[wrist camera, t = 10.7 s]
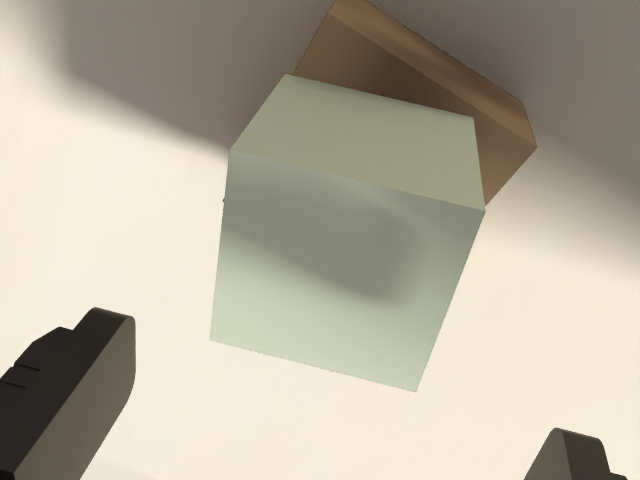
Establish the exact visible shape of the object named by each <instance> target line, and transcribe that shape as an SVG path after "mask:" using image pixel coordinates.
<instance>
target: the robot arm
mask: <svg viewBox="0 0 640 480" xmlns="http://www.w3.org/2000/svg"><path fill="white" fill-rule="evenodd" d="M135 372H136V355H135V320H134V318H133V317H132V316H128V315H124V314H120V313H116V312H112V311H109V310H105V309H101V308H97V307H94V308H92V309H91V310H89V311H88V313H87V314H86V315H85V316H84V317H83V319H82V320H81V321H80V322H79V323H78V325H77V326H76V327H75V328H74V330H70V329H66V328H62V327H58V328H56V329H54V330H52V331H51V332H49V333H47V334H46V335H44V336H42V337H40V338H39V339H37V340H35V341H34V342H32V343H31V344H30V346H29V347H28V348H27V349H26V350H25V351H24V352H23V354H22V355H21V356H20V357H19V358H18V359H17V360H16V361H15V363H14V366H13V367H10V368H9V369H8V370H7V372H6V373H5V374H4V375H3V376H2V377H1V378H0V480H80V478H81V477H82V475H83V473H84V472H85V470H86V468H87V467H88V465H89V464H90V462H91V460H92V459H93V457H94V455H95V454H96V452H97V451H98V449H99V447H100V446H101V444H102V442H103V441H104V439H105V437H106V436H107V434H108V432H109V431H110V429H111V428H112V426H113V424H114V423H115V421H116V419H117V418H118V416H119V414H120V413H121V411H122V410H123V408H124V406H125V405H126V403H127V401H128V399H129V396H130V394H131V391H132V388H133V384H134V380H135ZM524 480H627V478H626V477H625V476H622V475H618V474H614V473H611V472H610V469H609V465H608V461H607V457H606V454H605V450H604V446H603V444H602V442H601V441H600V440H599V439H598V438H595V437H591V436H587V435H583V434H579V433H575V432H572V431H568V430H564V429H560V428H554V429H553V430H552V431H551V432H550V434H549V435H548V437H547V439H546V441H545V443H544V444H543V446H542V448H541V450H540V451H539V453H538V455H537V457H536V459H535V460H534V462H533V464H532V466H531V467H530V469H529V471H528V473H527V475H526V476H525V479H524Z"/></svg>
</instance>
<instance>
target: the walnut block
mask: <svg viewBox="0 0 640 480" xmlns="http://www.w3.org/2000/svg"><path fill="white" fill-rule="evenodd" d="M293 76H297V77H302V78H306V79H310V80H315V81H319V82H323V83H328V84H332V85H336V86H340V87H345V88H349V89H353V90H358V91H362V92H366V93H371V94H375V95H379V96H383V97H388V98H392V99H396V100H401V101H405V102H409V103H414V104H418V105H422V106H426V107H431V108H435V109H439V110H444V111H448V112H452V113H457V114H461V115H465V116H469V117H473V119H474V127H475V134H476V142H477V150H478V157H479V165H480V173H481V180H482V188H483V196H484V203H485V206H486V205H487V204H488V203H489V202H490V200H491V199H492V198H493V197H494V196H495V195H496V194H497V192H498V191H499V190H500V189H501V188H502V187H503V186H504V184H505V183H506V182H507V181H508V180H509V179H510V178H511V176H512V175H513V174H514V173H515V172H516V171H517V170H518V168H519V167H520V166H521V165H522V164H523V163H524V162H525V161H526V159H527V158H528V157H529V156H530V155H531V154H532V153H533V151H534V150H535V149H536V148H537V145H536V142H535V139H534V136H533V133H532V130H531V127H530V124H529V121H528V118H527V115H526V112H525V109H524V106H523V103H522V102H521V101H519V100H517V99H516V98H514V97H513V96H511V95H510V94H508V93H507V92H505V91H504V90H502V89H501V88H499V87H497V86H496V85H494V84H493V83H491V82H490V81H488V80H487V79H485V78H484V77H482V76H481V75H479V74H478V73H476V72H474V71H473V70H471V69H470V68H468V67H467V66H465V65H464V64H462V63H461V62H459V61H458V60H456V59H455V58H453V57H451V56H450V55H448V54H447V53H445V52H444V51H442V50H441V49H439V48H438V47H436V46H435V45H433V44H432V43H430V42H428V41H427V40H425V39H424V38H422V37H421V36H419V35H418V34H416V33H415V32H413V31H412V30H410V29H409V28H407V27H405V26H404V25H402V24H401V23H399V22H398V21H396V20H395V19H393V18H392V17H390V16H389V15H387V14H386V13H384V12H382V11H381V10H379V9H378V8H376V7H375V6H373V5H372V4H370V3H369V2H367V1H366V0H336V1H335V3H334V4H333V5H332V7H331V8H330V10H329V11H328V12H327V14H326V16H325V18H324V20H323V21H322V23H321V25H320V27H319V29H318V30H317V32H316V34H315V36H314V38H313V39H312V41H311V43H310V45H309V47H308V48H307V50H306V52H305V54H304V56H303V57H302V59H301V61H300V63H299V65H298V66H297V68H296V70H295V72H294V74H293ZM223 202H224V199H223Z"/></svg>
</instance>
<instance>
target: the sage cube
mask: <svg viewBox="0 0 640 480" xmlns="http://www.w3.org/2000/svg"><path fill="white" fill-rule="evenodd" d="M484 214H485V203H484V196H483V188H482V180H481V173H480V165H479V157H478V150H477V142H476V134H475V127H474V119H473V117H469V116H465V115H461V114H457V113H452V112H448V111H444V110H439V109H435V108H431V107H426V106H422V105H418V104H414V103H409V102H405V101H401V100H396V99H392V98H388V97H383V96H379V95H375V94H371V93H366V92H362V91H358V90H353V89H349V88H345V87H340V86H336V85H332V84H328V83H323V82H319V81H315V80H310V79H306V78H302V77H297V76H293V75H289V74H284V76H283V77H282V78H281V80H280V81H279V83H278V84H277V85H276V87H275V88H274V89H273V91H272V92H271V94H270V95H269V96H268V98H267V99H266V100H265V102H264V103H263V105H262V106H261V107H260V109H259V110H258V111H257V113H256V114H255V116H254V117H253V118H252V120H251V121H250V122H249V124H248V125H247V127H246V128H245V129H244V131H243V132H242V133H241V135H240V136H239V138H238V139H237V140H236V142H235V143H234V144H233V146H232V147H231V149H230V151H229V160H228V170H227V179H226V189H225V198H224V208H223V217H222V227H221V236H220V246H219V255H218V265H217V274H216V284H215V293H214V302H213V312H212V321H211V331H210V340H211V341H215V342H219V343H223V344H227V345H231V346H235V347H239V348H243V349H247V350H251V351H255V352H259V353H263V354H267V355H271V356H274V357H278V358H282V359H286V360H290V361H294V362H298V363H302V364H306V365H310V366H314V367H318V368H322V369H326V370H330V371H334V372H338V373H341V374H345V375H349V376H353V377H357V378H361V379H365V380H369V381H373V382H377V383H381V384H385V385H389V386H393V387H397V388H401V389H405V390H409V391H412V392H416V391H417V389H418V386H419V383H420V381H421V378H422V375H423V373H424V370H425V368H426V365H427V362H428V360H429V357H430V355H431V352H432V349H433V347H434V344H435V342H436V339H437V336H438V334H439V331H440V329H441V326H442V323H443V321H444V318H445V315H446V313H447V310H448V308H449V305H450V302H451V300H452V297H453V295H454V292H455V289H456V287H457V284H458V282H459V279H460V276H461V274H462V271H463V268H464V266H465V263H466V261H467V258H468V255H469V253H470V250H471V248H472V245H473V242H474V240H475V237H476V235H477V232H478V229H479V227H480V224H481V222H482V219H483V216H484Z"/></svg>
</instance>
